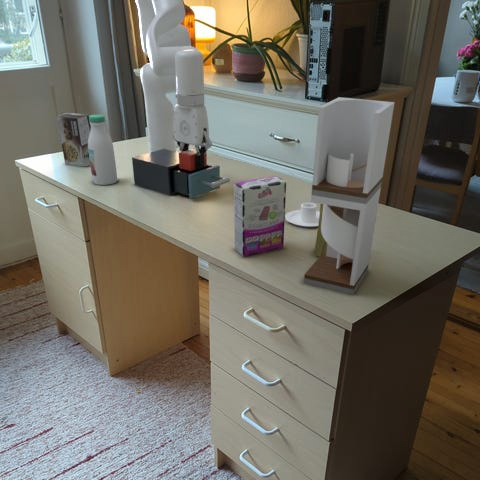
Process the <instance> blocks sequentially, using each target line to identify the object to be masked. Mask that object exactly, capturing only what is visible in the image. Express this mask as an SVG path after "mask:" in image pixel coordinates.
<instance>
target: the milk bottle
mask: <svg viewBox="0 0 480 480" xmlns="http://www.w3.org/2000/svg"><path fill="white" fill-rule="evenodd" d="M89 121H90V126H91V131H90V135H89V138H88V152H89V159H90V165H89V166H90V172H91V173H90V174H91V179H92V182H93V184H95V185H100V186H109V185H113V184H115V183H117V182H118V173H117V165H116V155H115V150H114V144H113V139H112V138H111V136H110V133H109V132H108V130H107V128H106V117H105V115H104V114H91V115H89Z"/></svg>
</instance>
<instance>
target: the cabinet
mask: <svg viewBox="0 0 480 480" xmlns="http://www.w3.org/2000/svg"><path fill="white" fill-rule="evenodd" d="M179 153H180V151H176V152H175V151H171V150H167V149H161V150H158V151H154V152H150V151H149V152H147V153H143V154H140V155H136V156H133V157H131V162H132V172H133V183H134V186H137V187H140V188H143V189H145V190H146V189H147V190H150V191H153V192H156V193H159V194H163V195H166V196H172V195H176V194H179V193H178V192H175V191H172V190H171V179H170V169H172V168H175V167H178V166H179Z"/></svg>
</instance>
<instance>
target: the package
mask: <svg viewBox="0 0 480 480" xmlns="http://www.w3.org/2000/svg"><path fill="white" fill-rule="evenodd" d="M195 155H197V154H196V149H195V147H194V148H191V149H190V148H189V149H188V150H187V151H184V152H182V151H179V168H181V169H185V170H188V171H193V170H195V169H196V168H195ZM207 155H208V154H207V152H206V153H205V154H204V166H207V165H208V163H207V161H208V159H207Z"/></svg>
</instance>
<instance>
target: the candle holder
mask: <svg viewBox="0 0 480 480" xmlns="http://www.w3.org/2000/svg"><path fill="white" fill-rule="evenodd" d="M317 208H318V205H317V203H314V202H303V203H301V204H300V209H295V210H291V211H288V212H287V213H285V221H287V222H289V223H291V224H293V225H296V226H299V227H300V226H301V227H318V224H319V216H320V210H317Z"/></svg>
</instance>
